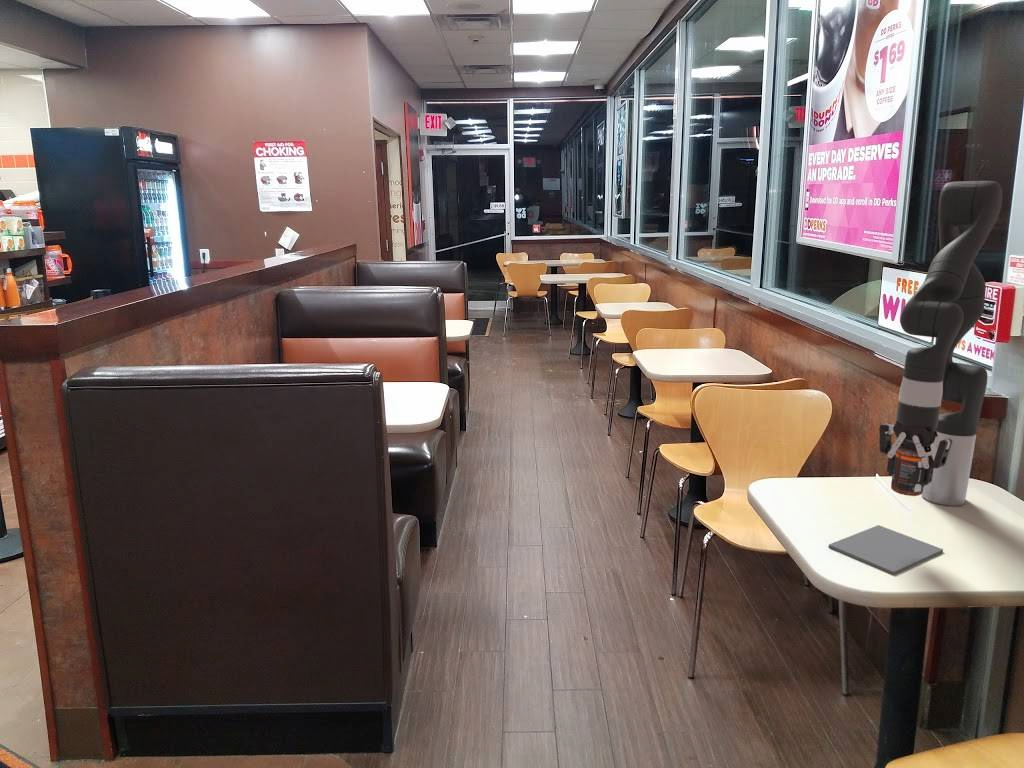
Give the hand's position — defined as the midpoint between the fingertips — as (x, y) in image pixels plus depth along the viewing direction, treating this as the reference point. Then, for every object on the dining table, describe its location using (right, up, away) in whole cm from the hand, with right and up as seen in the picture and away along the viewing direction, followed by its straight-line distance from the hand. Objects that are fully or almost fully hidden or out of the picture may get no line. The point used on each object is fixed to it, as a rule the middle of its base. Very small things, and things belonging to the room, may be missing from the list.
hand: (908, 479), depth 156 cm
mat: (-4, -14, +1) cm, 15 cm away
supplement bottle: (0, -3, +1) cm, 3 cm away
